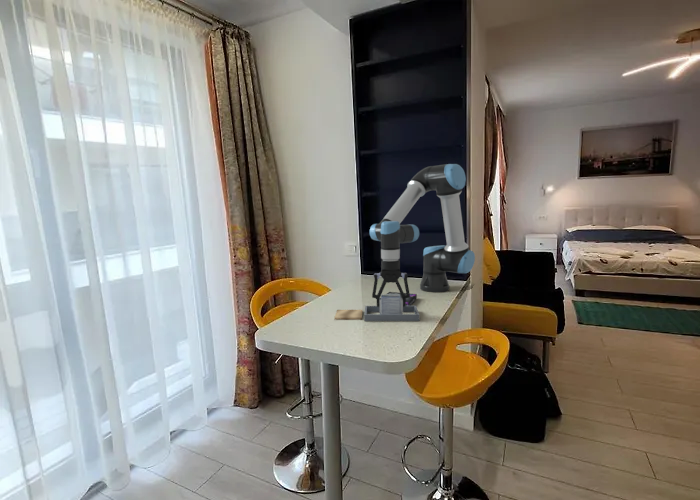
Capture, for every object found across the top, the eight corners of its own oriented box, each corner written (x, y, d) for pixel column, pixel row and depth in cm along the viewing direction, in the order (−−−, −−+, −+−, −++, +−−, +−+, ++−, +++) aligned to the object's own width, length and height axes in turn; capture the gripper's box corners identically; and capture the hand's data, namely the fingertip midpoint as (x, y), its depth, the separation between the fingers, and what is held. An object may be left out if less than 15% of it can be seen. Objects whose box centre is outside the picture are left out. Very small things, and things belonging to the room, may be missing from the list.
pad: (362, 311, 158) (362, 309, 157) (361, 319, 147) (361, 317, 147) (337, 311, 158) (337, 309, 158) (334, 319, 147) (334, 317, 147)
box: (406, 312, 158) (417, 300, 176) (406, 304, 158) (417, 293, 175) (376, 308, 164) (389, 297, 182) (376, 301, 163) (389, 290, 181)
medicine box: (400, 314, 152) (400, 294, 151) (401, 317, 148) (400, 296, 147) (381, 314, 153) (381, 294, 152) (381, 317, 148) (381, 296, 147)
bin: (415, 311, 156) (415, 305, 156) (419, 321, 143) (419, 314, 143) (365, 311, 157) (365, 305, 157) (364, 321, 145) (364, 314, 144)
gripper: (415, 257, 150) (415, 311, 153) (365, 258, 152) (366, 311, 155) (417, 260, 143) (417, 316, 146) (364, 261, 144) (365, 317, 147)
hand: (391, 314), depth 150 cm, fingers closed on medicine box, 8 cm apart
